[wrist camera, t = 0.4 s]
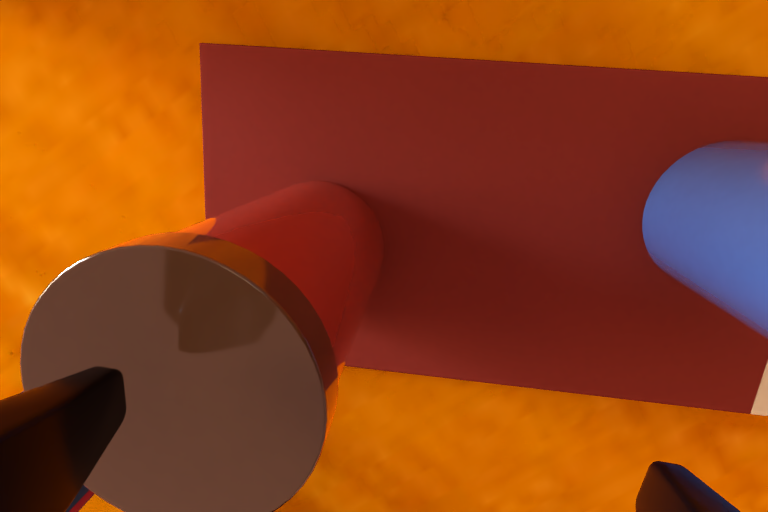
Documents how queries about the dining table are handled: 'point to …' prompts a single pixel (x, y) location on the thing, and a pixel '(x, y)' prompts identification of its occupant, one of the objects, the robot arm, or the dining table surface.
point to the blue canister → (715, 227)
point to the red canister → (217, 347)
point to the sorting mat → (500, 210)
